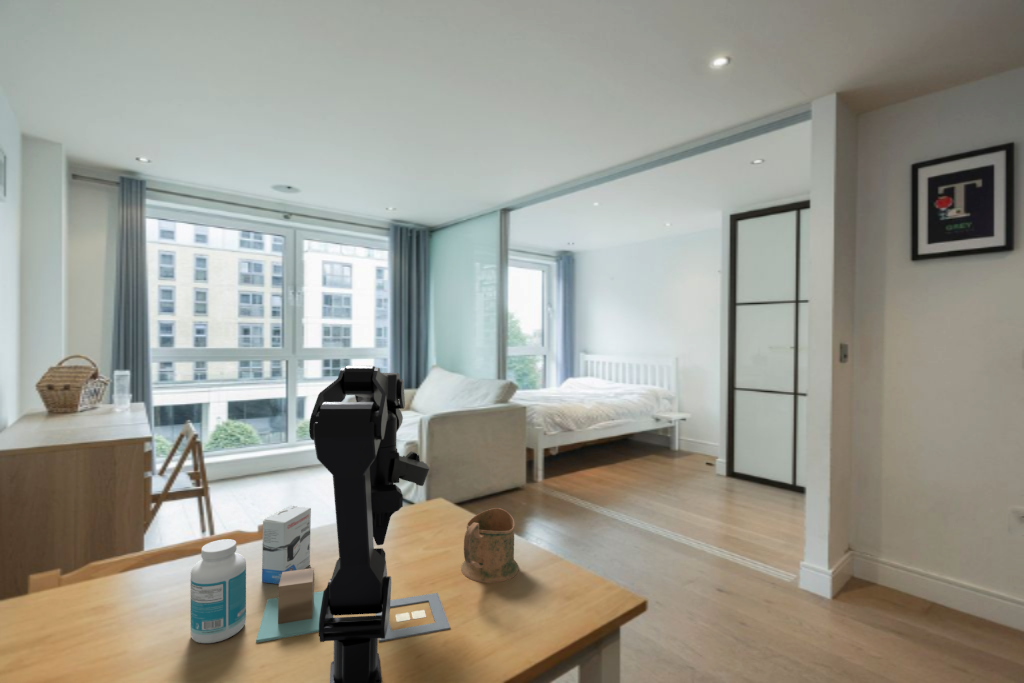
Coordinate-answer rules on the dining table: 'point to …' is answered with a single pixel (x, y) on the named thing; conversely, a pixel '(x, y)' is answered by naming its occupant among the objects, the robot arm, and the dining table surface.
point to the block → (296, 595)
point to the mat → (275, 631)
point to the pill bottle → (218, 592)
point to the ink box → (285, 542)
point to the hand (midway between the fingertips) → (378, 533)
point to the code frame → (417, 617)
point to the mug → (490, 547)
